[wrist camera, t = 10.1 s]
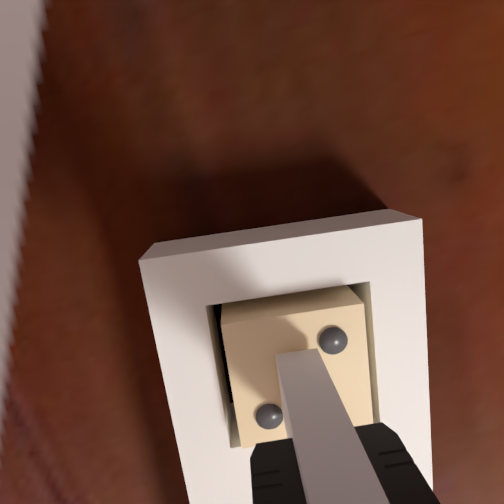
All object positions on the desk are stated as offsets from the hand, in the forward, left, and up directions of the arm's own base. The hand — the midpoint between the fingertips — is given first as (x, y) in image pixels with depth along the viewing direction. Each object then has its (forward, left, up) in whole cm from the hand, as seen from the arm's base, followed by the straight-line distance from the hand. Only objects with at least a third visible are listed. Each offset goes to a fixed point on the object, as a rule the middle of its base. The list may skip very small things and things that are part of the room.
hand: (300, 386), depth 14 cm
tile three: (0, 0, -4) cm, 4 cm away
